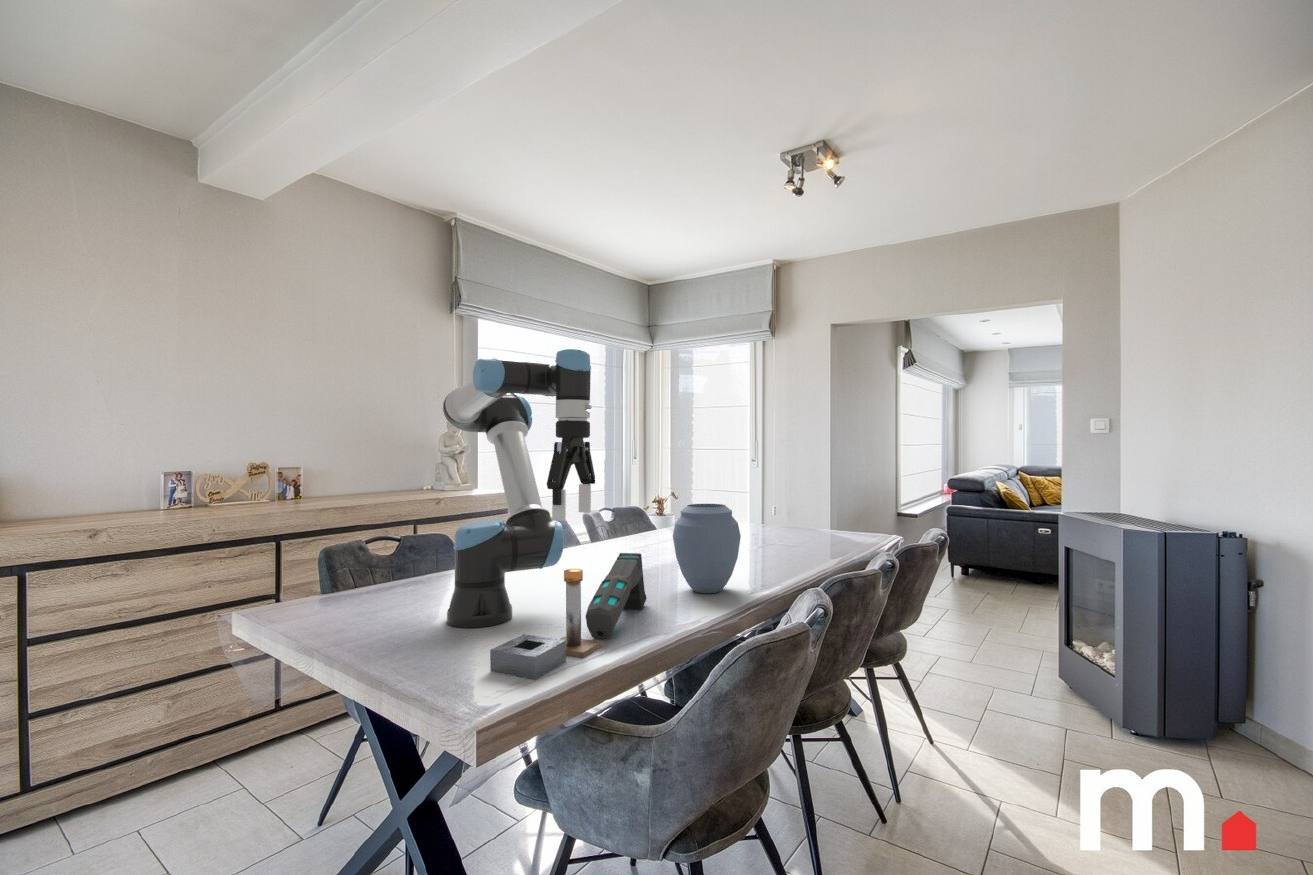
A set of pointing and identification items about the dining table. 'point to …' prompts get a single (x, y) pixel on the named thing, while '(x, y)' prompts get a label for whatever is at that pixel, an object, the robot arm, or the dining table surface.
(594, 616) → the gun
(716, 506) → the vase
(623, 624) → the dining table surface
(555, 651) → the block
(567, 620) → the capped test tube
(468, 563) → the robot arm
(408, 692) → the dining table surface
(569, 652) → the rest pad
